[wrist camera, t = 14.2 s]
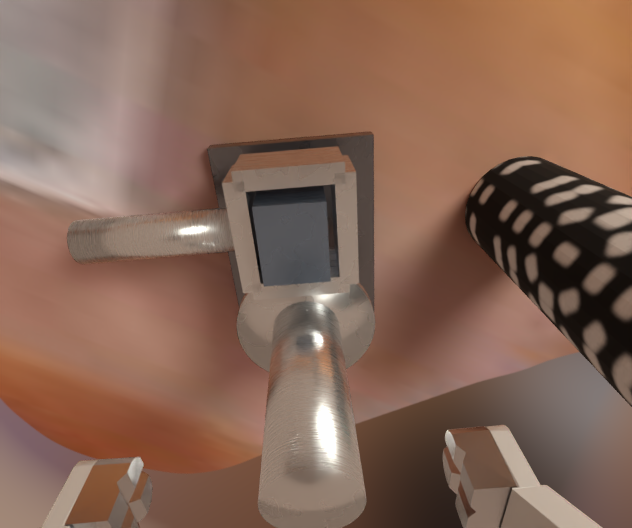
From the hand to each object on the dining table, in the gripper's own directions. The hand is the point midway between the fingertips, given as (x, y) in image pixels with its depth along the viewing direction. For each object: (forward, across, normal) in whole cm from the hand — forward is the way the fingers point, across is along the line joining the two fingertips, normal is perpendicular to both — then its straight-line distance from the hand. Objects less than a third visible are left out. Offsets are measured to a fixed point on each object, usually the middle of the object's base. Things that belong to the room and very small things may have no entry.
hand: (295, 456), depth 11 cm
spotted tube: (+24, -18, +4) cm, 30 cm away
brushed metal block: (+22, 0, 0) cm, 22 cm away
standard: (+23, +4, +5) cm, 24 cm away
